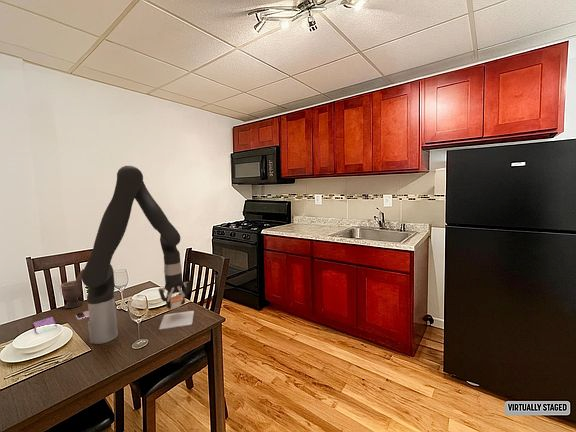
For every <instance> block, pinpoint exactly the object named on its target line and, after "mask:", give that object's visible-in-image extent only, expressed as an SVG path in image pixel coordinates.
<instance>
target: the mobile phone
mask: <svg viewBox="0 0 576 432" xmlns="http://www.w3.org/2000/svg"><path fill="white" fill-rule="evenodd" d="M75 317H76V319H77V320H82V318H83V319H86V318H89V310H86V311H82V312H79V313H76V314H75ZM85 317H86V318H85Z"/></svg>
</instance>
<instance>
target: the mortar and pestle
mask: <svg viewBox="0 0 576 432" xmlns="http://www.w3.org/2000/svg"><path fill="white" fill-rule="evenodd" d="M83 270H84V268H83V269H81V270H80V271H79V274H78V275H77V277H76V279H75V280H72V281H66V282H63V283H62V284H60V289H61V295H62V298H63V299H64V300H65V301H67V302H66V304H65V305H64V309H65V308H72V309H75V307H76V308H79V307H80V306H82V304H83V303H82V301H81V300H79V298H80V297H81V295H82V290H83V289H82V272H83ZM72 304H73V305H72Z"/></svg>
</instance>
